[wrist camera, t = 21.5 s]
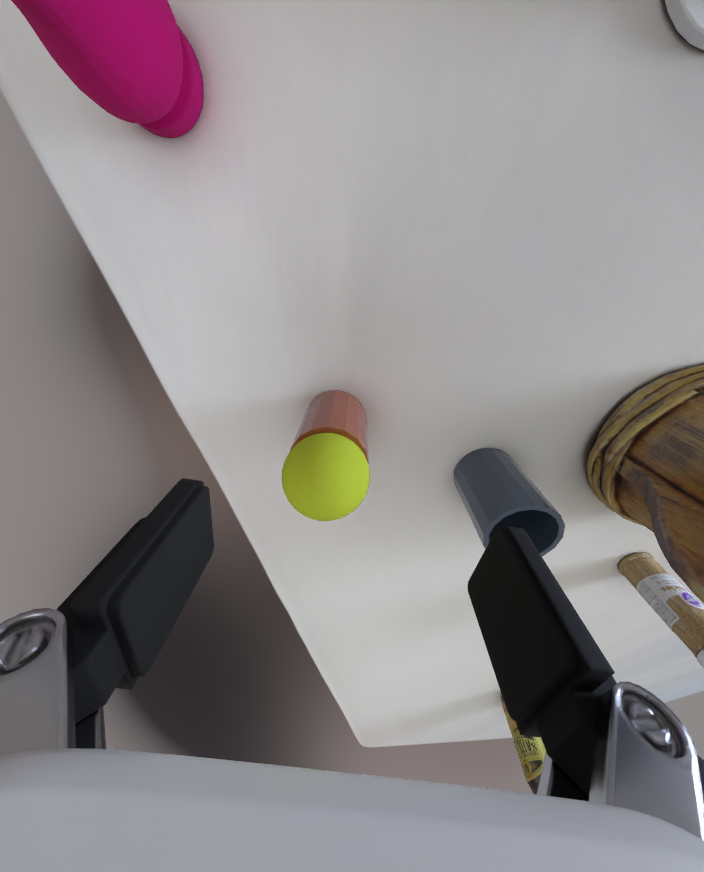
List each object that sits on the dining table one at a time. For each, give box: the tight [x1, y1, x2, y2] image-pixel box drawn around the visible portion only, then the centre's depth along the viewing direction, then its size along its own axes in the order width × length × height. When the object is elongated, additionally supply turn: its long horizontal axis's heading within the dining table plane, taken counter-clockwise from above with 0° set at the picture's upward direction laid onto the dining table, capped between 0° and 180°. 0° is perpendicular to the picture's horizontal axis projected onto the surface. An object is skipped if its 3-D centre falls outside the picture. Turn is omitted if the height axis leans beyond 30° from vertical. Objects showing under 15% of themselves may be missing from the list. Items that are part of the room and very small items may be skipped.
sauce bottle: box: [501, 695, 546, 794], centre depth 51 cm, size 7×6×20 cm
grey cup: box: [454, 448, 565, 557], centre depth 32 cm, size 7×7×10 cm
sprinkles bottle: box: [618, 553, 704, 668], centre depth 36 cm, size 5×5×13 cm
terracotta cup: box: [290, 391, 368, 462], centre depth 29 cm, size 7×7×9 cm
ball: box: [282, 433, 370, 521], centre depth 23 cm, size 7×7×7 cm
